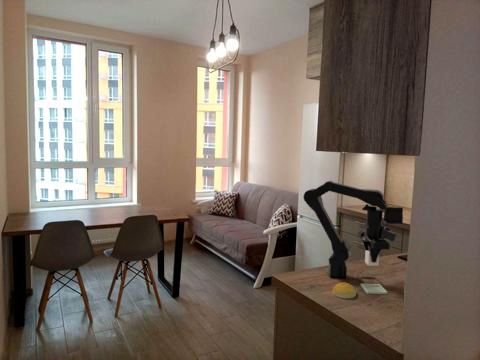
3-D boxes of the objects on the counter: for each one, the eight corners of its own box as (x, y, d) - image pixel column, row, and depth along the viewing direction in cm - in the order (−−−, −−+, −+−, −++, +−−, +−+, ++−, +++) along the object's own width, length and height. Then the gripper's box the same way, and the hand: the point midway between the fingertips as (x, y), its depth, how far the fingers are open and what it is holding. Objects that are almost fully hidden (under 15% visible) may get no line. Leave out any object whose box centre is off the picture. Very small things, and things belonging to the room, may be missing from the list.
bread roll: (330, 297, 129) (330, 286, 128) (335, 288, 137) (335, 278, 136) (353, 302, 125) (354, 291, 125) (357, 293, 133) (358, 282, 133)
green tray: (367, 294, 131) (367, 291, 131) (360, 286, 139) (360, 283, 139) (387, 294, 131) (387, 291, 131) (379, 287, 139) (379, 284, 139)
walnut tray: (363, 285, 139) (364, 282, 139) (357, 278, 147) (357, 276, 147) (382, 286, 139) (382, 283, 139) (375, 279, 147) (375, 276, 147)
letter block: (368, 265, 140) (369, 253, 140) (364, 262, 144) (365, 250, 144) (378, 265, 140) (379, 253, 140) (374, 262, 144) (375, 250, 144)
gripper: (405, 228, 131) (402, 269, 133) (385, 217, 150) (382, 253, 151) (375, 227, 131) (372, 268, 133) (358, 217, 150) (356, 253, 151)
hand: (371, 260), depth 142 cm, fingers closed on letter block, 4 cm apart
